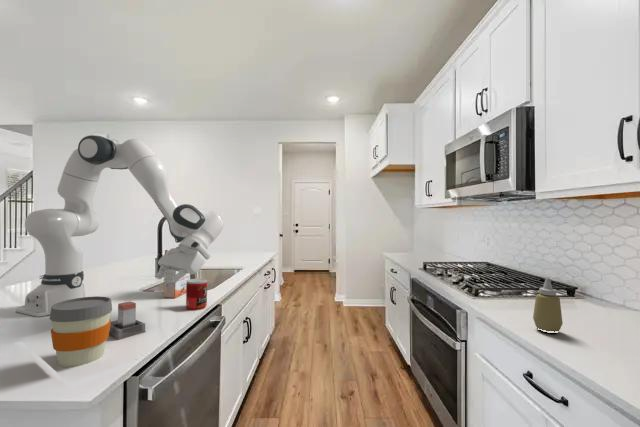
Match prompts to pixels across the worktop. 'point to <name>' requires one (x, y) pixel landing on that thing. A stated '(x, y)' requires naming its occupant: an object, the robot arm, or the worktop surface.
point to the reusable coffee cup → (80, 329)
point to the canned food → (196, 294)
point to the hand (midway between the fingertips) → (165, 279)
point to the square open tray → (126, 330)
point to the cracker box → (174, 284)
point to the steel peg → (126, 314)
